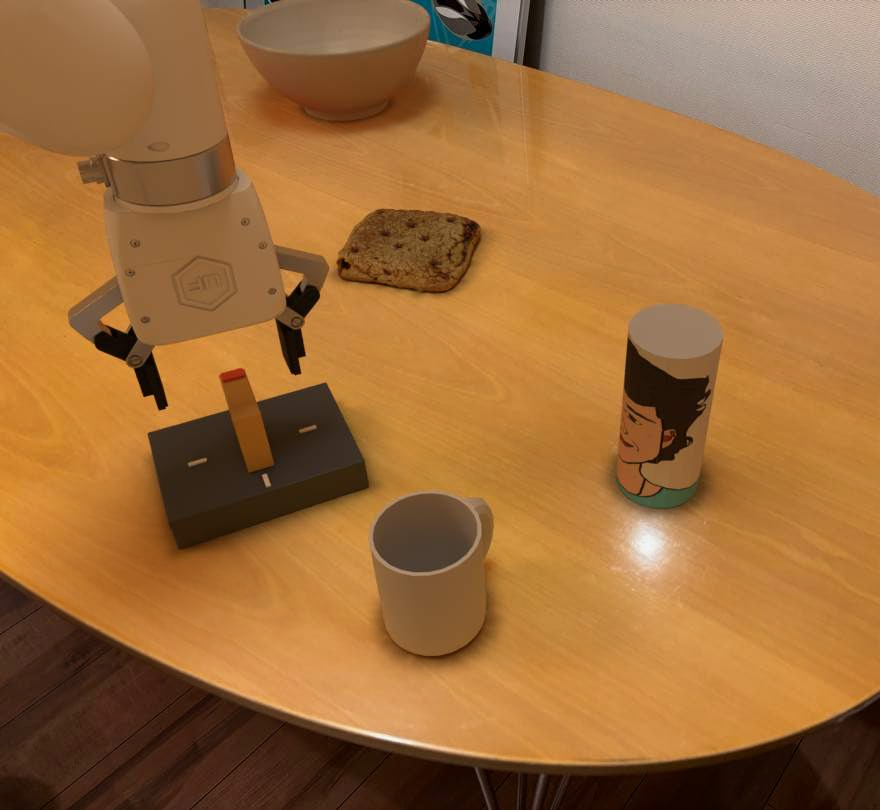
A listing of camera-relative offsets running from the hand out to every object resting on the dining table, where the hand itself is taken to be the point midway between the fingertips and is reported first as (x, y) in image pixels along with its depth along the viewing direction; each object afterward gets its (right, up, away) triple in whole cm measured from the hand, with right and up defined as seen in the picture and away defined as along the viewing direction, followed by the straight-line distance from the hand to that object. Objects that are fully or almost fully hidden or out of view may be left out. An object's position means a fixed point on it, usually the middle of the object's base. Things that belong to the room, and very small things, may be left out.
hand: (228, 381), depth 66 cm
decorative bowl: (-6, +43, +66) cm, 79 cm away
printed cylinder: (+33, -8, +7) cm, 35 cm away
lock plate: (0, -7, +7) cm, 10 cm away
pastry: (+9, +15, +33) cm, 37 cm away
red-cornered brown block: (0, -5, +5) cm, 7 cm away
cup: (+17, -16, -3) cm, 23 cm away
